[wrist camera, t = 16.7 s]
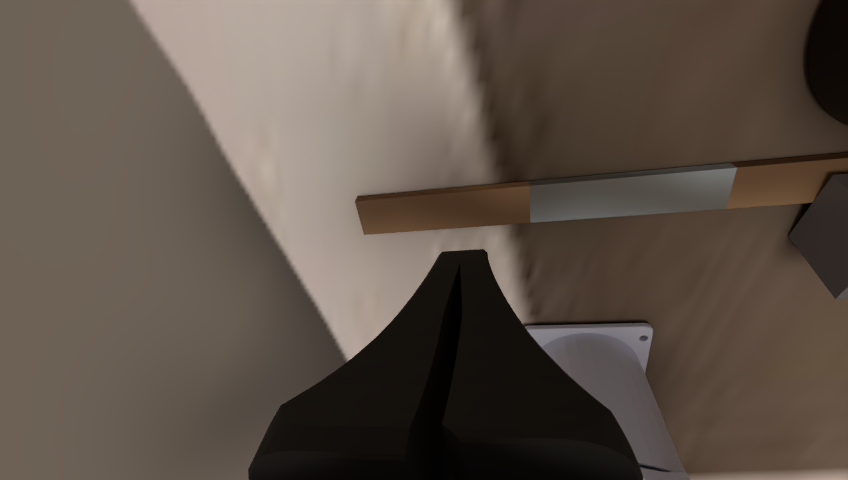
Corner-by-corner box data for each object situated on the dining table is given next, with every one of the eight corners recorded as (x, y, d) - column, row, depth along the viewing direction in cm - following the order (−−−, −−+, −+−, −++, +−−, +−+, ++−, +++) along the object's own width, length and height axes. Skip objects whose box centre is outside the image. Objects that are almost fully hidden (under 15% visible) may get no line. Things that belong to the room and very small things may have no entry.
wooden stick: (947, 186, 19) (959, 192, 18) (366, 229, 24) (364, 234, 24) (973, 140, 18) (987, 145, 17) (357, 196, 23) (355, 201, 23)
